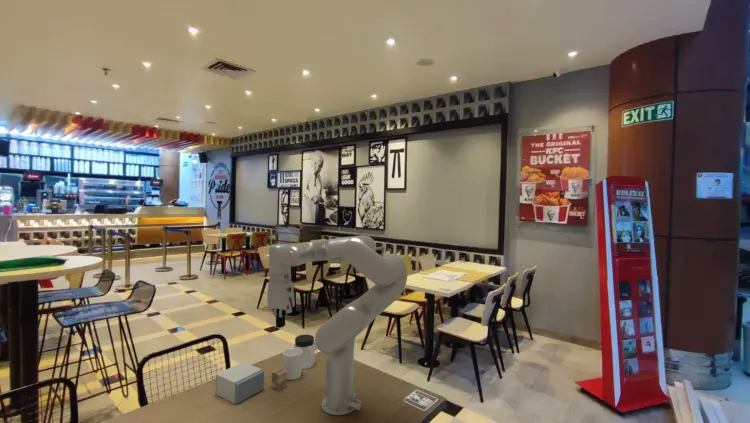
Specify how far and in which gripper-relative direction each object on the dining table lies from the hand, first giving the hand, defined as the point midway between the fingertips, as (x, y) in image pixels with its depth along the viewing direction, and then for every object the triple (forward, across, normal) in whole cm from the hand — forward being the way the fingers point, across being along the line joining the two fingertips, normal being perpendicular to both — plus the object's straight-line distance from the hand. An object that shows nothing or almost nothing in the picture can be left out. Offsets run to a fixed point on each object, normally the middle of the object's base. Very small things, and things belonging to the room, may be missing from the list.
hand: (280, 326), depth 131 cm
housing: (+25, +14, +8) cm, 29 cm away
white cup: (+25, +6, -12) cm, 28 cm away
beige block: (+25, +4, -3) cm, 25 cm away
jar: (+25, +9, -22) cm, 34 cm away
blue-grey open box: (+24, +13, +8) cm, 29 cm away
